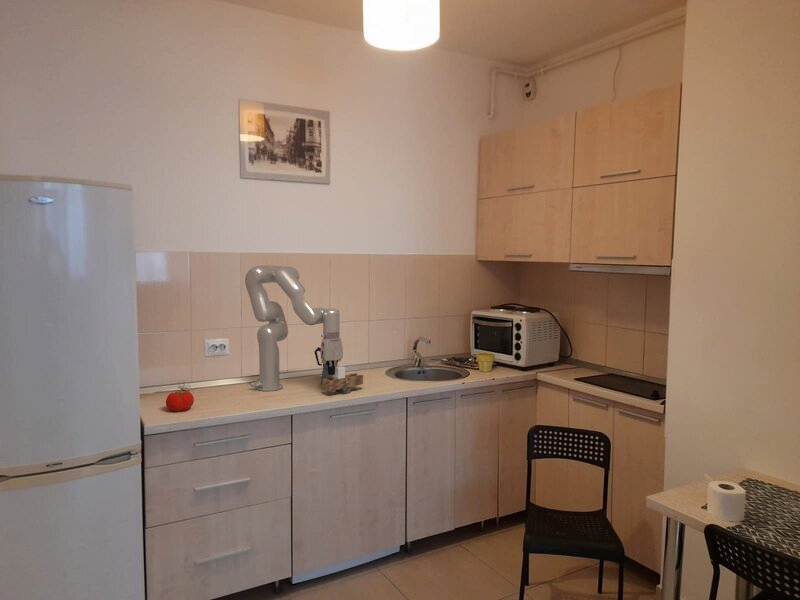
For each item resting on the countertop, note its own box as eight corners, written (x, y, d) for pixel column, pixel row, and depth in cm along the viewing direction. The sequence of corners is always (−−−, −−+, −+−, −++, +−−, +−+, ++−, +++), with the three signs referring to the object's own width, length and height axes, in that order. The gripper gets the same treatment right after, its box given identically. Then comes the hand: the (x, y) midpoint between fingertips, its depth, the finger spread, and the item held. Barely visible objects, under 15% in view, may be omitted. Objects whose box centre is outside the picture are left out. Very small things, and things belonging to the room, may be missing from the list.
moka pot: (339, 386, 273) (340, 346, 271) (310, 384, 276) (310, 345, 274) (345, 381, 282) (345, 343, 281) (317, 380, 285) (317, 342, 284)
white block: (338, 384, 255) (338, 368, 255) (331, 382, 259) (331, 366, 258) (345, 382, 258) (345, 367, 257) (338, 380, 262) (338, 365, 261)
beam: (329, 397, 251) (330, 381, 251) (321, 394, 256) (321, 379, 255) (363, 390, 265) (363, 375, 265) (355, 387, 270) (355, 373, 269)
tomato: (196, 405, 235) (195, 388, 235) (190, 413, 224) (189, 395, 224) (170, 406, 234) (169, 389, 233) (163, 414, 223) (162, 396, 222)
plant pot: (484, 368, 321) (484, 351, 320) (498, 371, 313) (498, 354, 312) (472, 370, 314) (472, 353, 313) (485, 373, 306) (486, 356, 306)
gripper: (322, 338, 246) (322, 378, 247) (349, 335, 256) (349, 373, 257) (313, 336, 251) (313, 375, 253) (339, 333, 261) (339, 371, 263)
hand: (331, 374), depth 255 cm, fingers closed
